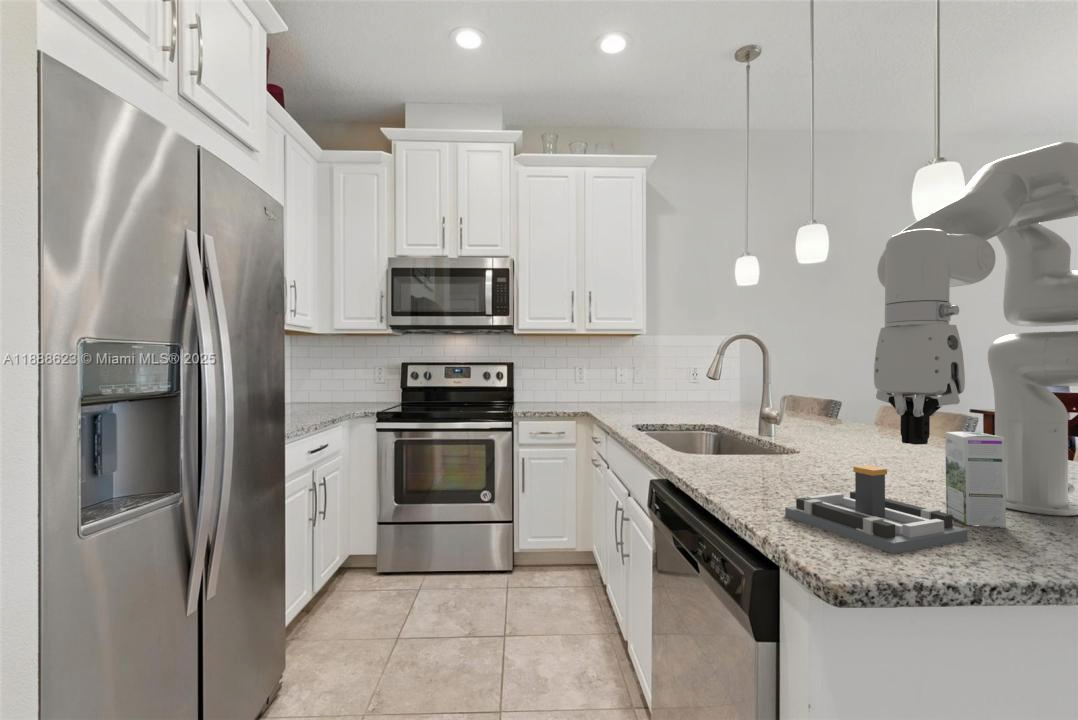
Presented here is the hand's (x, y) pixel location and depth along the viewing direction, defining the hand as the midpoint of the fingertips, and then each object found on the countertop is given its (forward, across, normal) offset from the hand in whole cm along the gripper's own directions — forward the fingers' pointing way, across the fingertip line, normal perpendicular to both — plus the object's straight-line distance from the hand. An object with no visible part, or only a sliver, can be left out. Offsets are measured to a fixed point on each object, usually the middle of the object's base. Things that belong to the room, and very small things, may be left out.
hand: (914, 443), depth 73 cm
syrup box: (+14, +3, -20) cm, 25 cm away
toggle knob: (+13, +7, -1) cm, 14 cm away
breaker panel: (+14, +7, -1) cm, 16 cm away
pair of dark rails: (+13, +7, -1) cm, 15 cm away
